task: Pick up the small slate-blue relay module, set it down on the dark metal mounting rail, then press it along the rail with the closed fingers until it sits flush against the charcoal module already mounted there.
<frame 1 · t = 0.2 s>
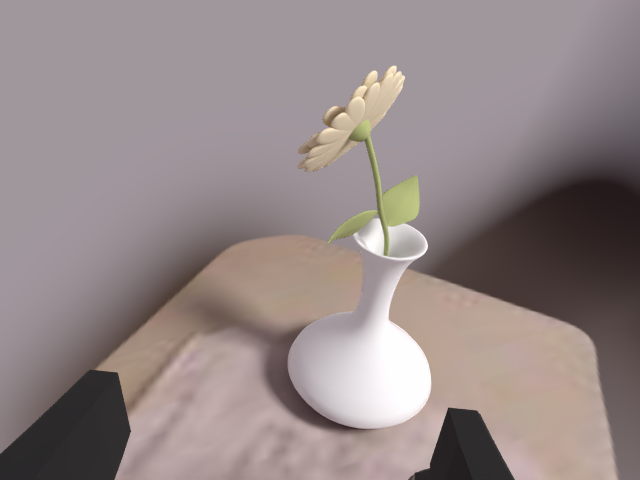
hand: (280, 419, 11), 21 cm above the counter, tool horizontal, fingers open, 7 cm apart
flower in vase: (347, 386, 40), on the counter
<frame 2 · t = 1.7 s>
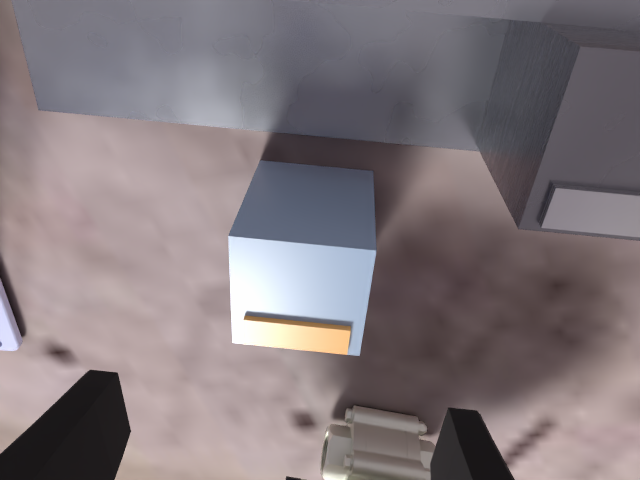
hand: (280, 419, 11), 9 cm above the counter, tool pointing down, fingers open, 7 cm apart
module: (313, 214, 19), on the counter
rail: (326, 29, 15), on the counter
pneumatic valve: (375, 430, 26), on the counter
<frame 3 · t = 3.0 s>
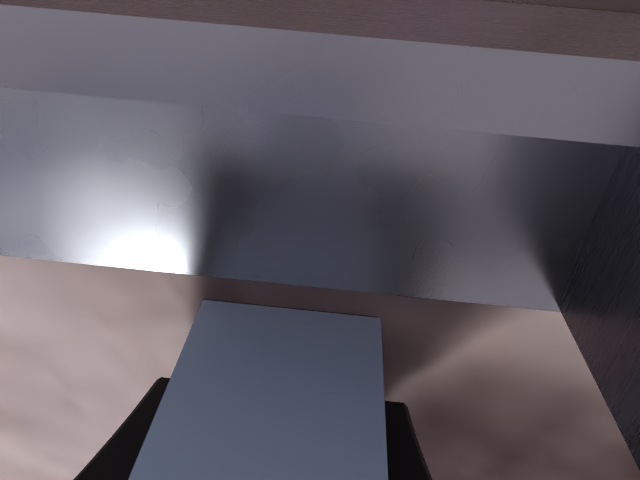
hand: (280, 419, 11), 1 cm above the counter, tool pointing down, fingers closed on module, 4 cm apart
module: (288, 370, 12), on the counter, touching gripper
rail: (301, 113, 9), on the counter
when the fingers open (3 cm above the counter, at t = 5.7 s): module stays where it is, resting on rail.
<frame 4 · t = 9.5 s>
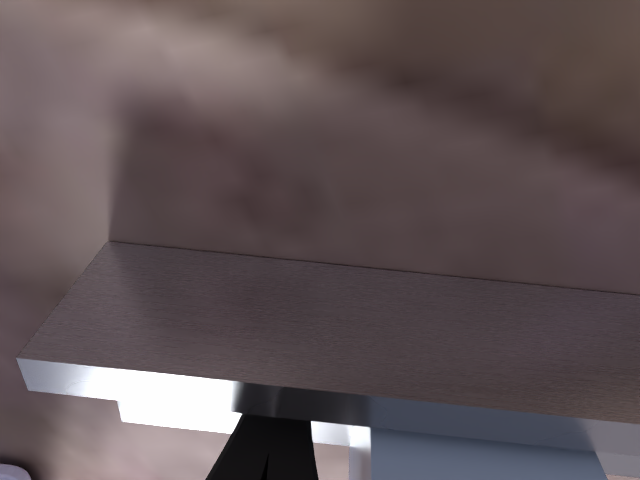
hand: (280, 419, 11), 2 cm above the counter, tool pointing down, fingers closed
module: (441, 408, 12), point 1 cm above the counter, touching gripper, rail
rail: (488, 347, 12), on the counter
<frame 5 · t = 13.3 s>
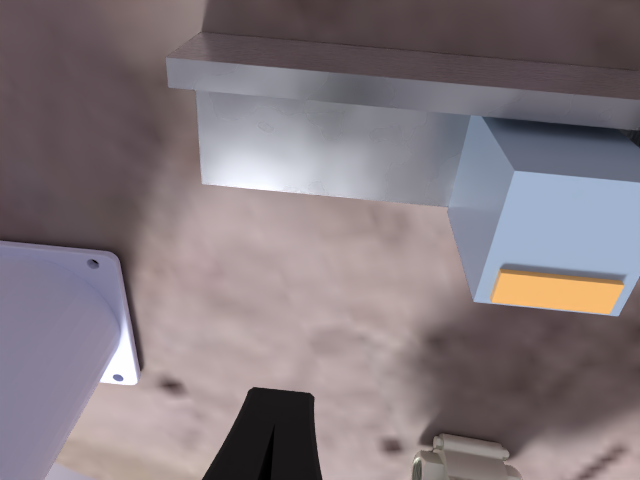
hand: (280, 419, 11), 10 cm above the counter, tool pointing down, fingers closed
module: (518, 167, 17), point 1 cm above the counter, touching rail
rail: (464, 117, 17), on the counter
pneumatic valve: (457, 454, 28), on the counter
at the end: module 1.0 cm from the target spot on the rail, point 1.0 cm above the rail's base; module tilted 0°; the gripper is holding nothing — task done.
